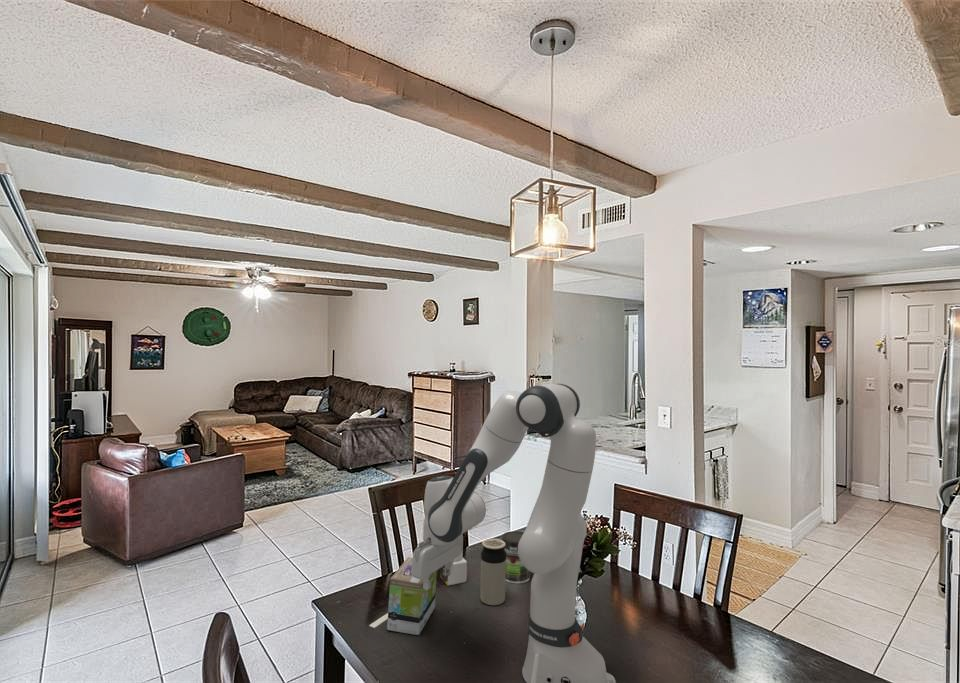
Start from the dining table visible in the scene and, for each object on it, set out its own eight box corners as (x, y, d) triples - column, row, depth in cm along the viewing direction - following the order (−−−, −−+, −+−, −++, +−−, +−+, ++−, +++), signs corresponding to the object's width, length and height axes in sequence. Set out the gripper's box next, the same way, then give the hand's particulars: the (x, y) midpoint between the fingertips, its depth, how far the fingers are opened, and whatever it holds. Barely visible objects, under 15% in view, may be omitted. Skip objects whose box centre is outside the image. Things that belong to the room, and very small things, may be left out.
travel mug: (501, 608, 150) (502, 549, 150) (476, 603, 153) (478, 545, 153) (507, 596, 158) (509, 540, 158) (484, 591, 160) (485, 536, 160)
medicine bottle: (439, 576, 170) (440, 542, 170) (458, 573, 173) (459, 539, 173) (447, 586, 163) (448, 550, 163) (466, 582, 166) (467, 547, 166)
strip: (412, 602, 152) (412, 601, 152) (374, 628, 138) (374, 627, 138) (407, 600, 153) (407, 599, 153) (369, 626, 139) (369, 625, 139)
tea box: (420, 636, 135) (422, 583, 135) (386, 630, 137) (388, 578, 137) (436, 608, 149) (437, 559, 149) (405, 603, 151) (406, 555, 151)
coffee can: (527, 586, 165) (528, 544, 165) (497, 581, 168) (498, 540, 168) (532, 572, 174) (533, 533, 175) (505, 568, 178) (505, 529, 178)
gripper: (424, 548, 128) (423, 600, 128) (467, 524, 146) (465, 571, 145) (406, 542, 131) (404, 593, 131) (449, 520, 149) (448, 565, 149)
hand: (437, 581), depth 139 cm, fingers open, 8 cm apart
